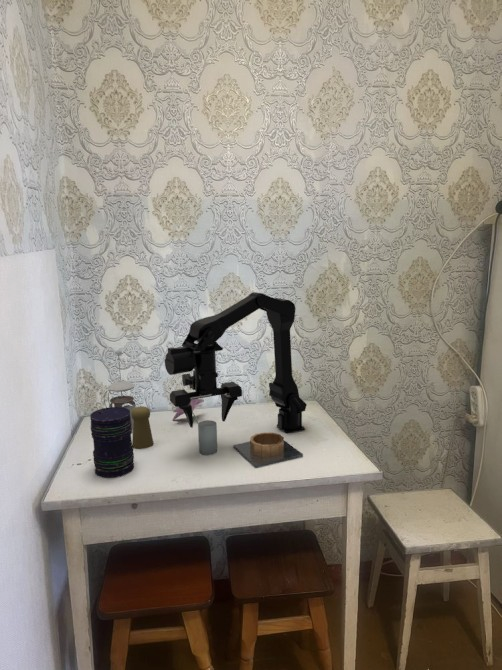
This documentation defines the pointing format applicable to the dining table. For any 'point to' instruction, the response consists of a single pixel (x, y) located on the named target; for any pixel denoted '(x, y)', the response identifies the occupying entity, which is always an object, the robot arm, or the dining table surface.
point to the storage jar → (112, 442)
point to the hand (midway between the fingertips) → (207, 424)
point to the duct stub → (207, 437)
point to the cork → (141, 428)
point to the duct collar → (267, 449)
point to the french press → (121, 400)
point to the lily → (192, 403)
